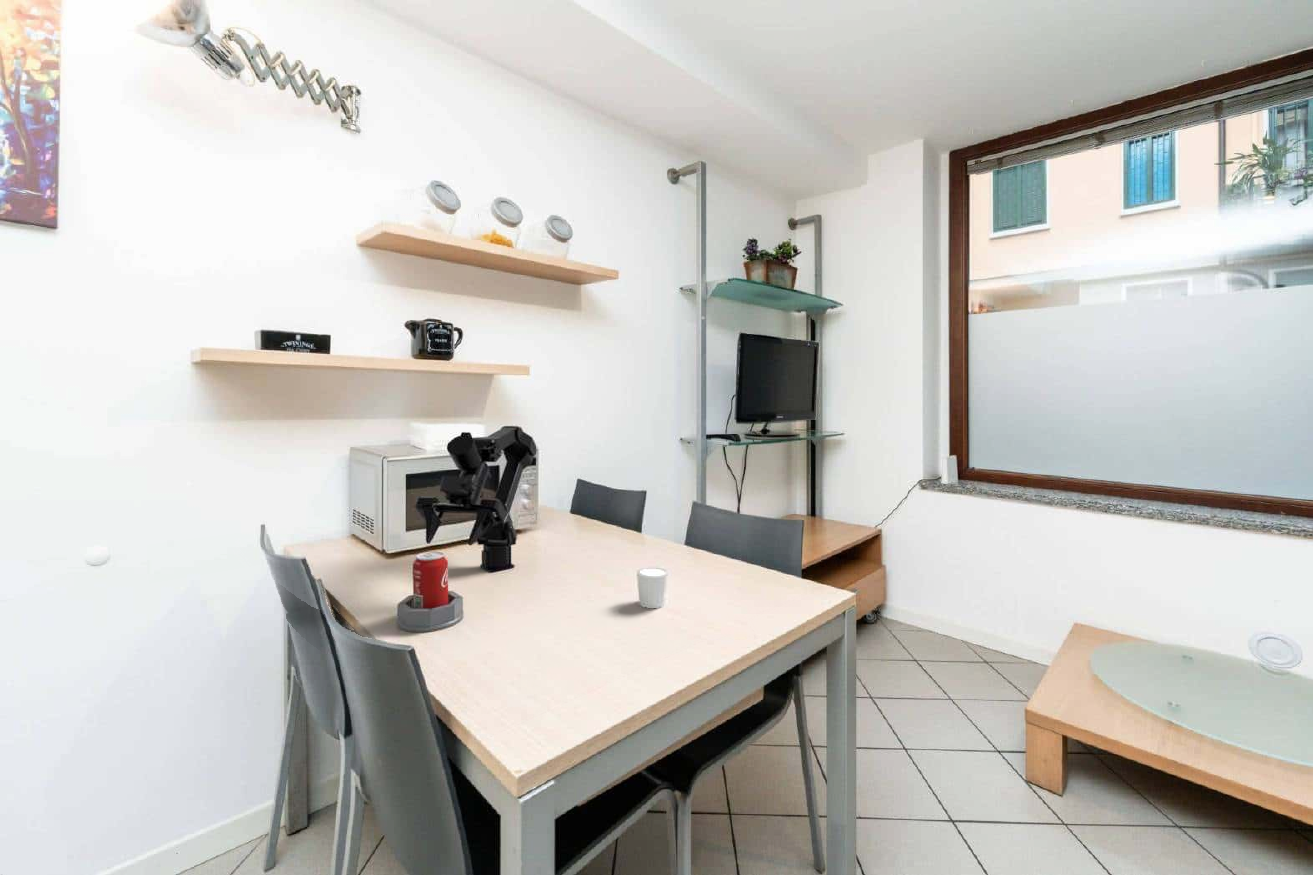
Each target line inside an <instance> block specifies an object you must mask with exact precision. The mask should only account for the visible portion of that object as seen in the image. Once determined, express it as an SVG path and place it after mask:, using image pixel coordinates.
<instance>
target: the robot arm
mask: <svg viewBox="0 0 1313 875" xmlns="http://www.w3.org/2000/svg"><path fill="white" fill-rule="evenodd" d="M446 450H447V452H448V454H449V456H450V457H451V459H452V461H453V463H454V464H455V466H456V468H457V469H459V470H461V472H460V474H459V476H456V475H455V476H454V475H453V476H452V475H442V477H441V481H440V487H439V492H440V493H444V494H445V496H444V497H445V499H446V501H449V502H448V503H447V502H445V503H444V502H440V500H439V499H438V497H437V496H425V495H424V496H423V495H422V496H420V497H418V498H417V499H416V502H415V504H414V507H415V509H416V510H417V511H418V513H419V514H420V516H421V517H422V519H423V520H425V542H426V544H428V545H429V544H431V542H432V541H433V539H434V537H435V535H436V533H437V531H438V529H439V527H440V526H441V524H442V520H441V519H442V518H443V516H444V514H449V513H450V514H466V515H467V514H468V515H476V518H475V521H474V523H473V527H472V529H471V532H470V534H469V537H468V542H467V544H468V545H469V546H472V545H474V543H475V542H477V545H478V546H481V545H482V550H481V564H480V566H479V567H480V568H483V569H485V570H486V571H488V572H492V573H493V572H495V573H496V572H498V571H503V570H507V569H511V568H515V565H516V564H513V563H512V546H514V545H516V544H517V540H518V537H517V536H518V533H517V530H516V529H515V527H514V525H513V523H514V522H513V519H512V517H511V514H510V512H511V509H512V505H513V502H514V500H515V498H516V497H515V496H516V493H517V490H518V487H519V484H520V480H521V477H522V474H523V472H524V470H525V469H526V468H527V467H528V466H530V465H531V464H532V462H533V460H534V458H535V456H536V454H537V450H538V449H537V444H536V442H535V440H534V438H533V436H531V435H529V434H528V433H526V432H525V431H524V430H523V429H522V427H521V426H518V425H505V426H504V425H503V426H502V427H501V428H500V429H499V430H497V431H495V432H493V433H492V434H490V435H487V436H482V437H481V436H478V437H477V436H475V437H473V435H472V434H471V432H470V431H469V432H466V431H463V432H461V434H460V435H458V436H456V437H453V438H452V439H451V440H450V441H448V443H447V445H446ZM502 452H503V455H504V458H505V461H506V464H505V466H504V468H503V472H502V474H501V478H500V479H499V480H500V481H499V484H498V486H497V489H496V491H495V495H494V498H486V497H485V498H483V497H484V492H483V490H484V486H485V484H486V481H487V479H490V478H491V472H490V467H489V465H488V463H496V462H498V460H499V459H500V458H501V457H502ZM480 498H481V501H480V504H479V500H480Z"/></svg>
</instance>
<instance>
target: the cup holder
mask: <svg viewBox="0 0 1313 875" xmlns="http://www.w3.org/2000/svg"><path fill="white" fill-rule="evenodd" d="M463 600H464V598H463V596H462V595H460V594H459V593H457V592H455V591H453V590H448V605H444V606H440V607H436V608H432V609H414V602H413V594H411V595H407V596H406V597H405V598H403V600H401V601H400V602H398V603H397V606H396V607H397V619H396V621H397V622H396V623H397V624H396V625H397V628H398V629H400V630H402V631H405V632H408V633H409V632H410V633H430V632H437V631H441V630H445V629H448V628H450V627H453V626H455V625H457V624H459V623H460V622H461V621H462V620H463V619H464V602H463Z"/></svg>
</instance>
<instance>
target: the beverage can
mask: <svg viewBox="0 0 1313 875" xmlns="http://www.w3.org/2000/svg"><path fill="white" fill-rule="evenodd" d="M444 555H445V554H444V553H443V552H441V551H427V552H422V553H419V554H417V555H416V557H415V560H414V562H413V564H412V591H413V592H412V595H413V602H414V609H432V608H436V607H440V606H444V605H448V591H449V579H448V578H449V562H448V559H447V558H446V557H445V556H444Z"/></svg>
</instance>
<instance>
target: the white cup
mask: <svg viewBox="0 0 1313 875" xmlns="http://www.w3.org/2000/svg"><path fill="white" fill-rule="evenodd" d="M669 575H670V572H669V570H667V569H665V568H660V567H644V568H640V569H638V570H637V572H636V578H637V579H636V580H637V589H638V590H637V591H638V602H639V603H640V604H639V606H640V605H641V606H640V607H642V606H643V607H642V608H644V607H647V608H646V609H648V608H657V609H660V608H659V607H662V608H664V607H665V606H666V603H667V594H668V583H669ZM664 605H665V606H664ZM663 606H664V607H663Z"/></svg>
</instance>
